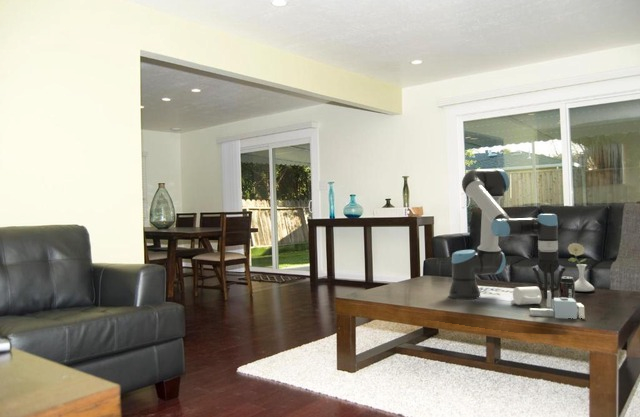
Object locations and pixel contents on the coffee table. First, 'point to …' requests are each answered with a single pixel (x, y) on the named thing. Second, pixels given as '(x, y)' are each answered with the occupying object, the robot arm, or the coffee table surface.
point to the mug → (527, 295)
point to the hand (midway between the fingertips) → (549, 306)
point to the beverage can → (567, 287)
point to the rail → (552, 312)
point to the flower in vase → (580, 268)
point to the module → (564, 307)
